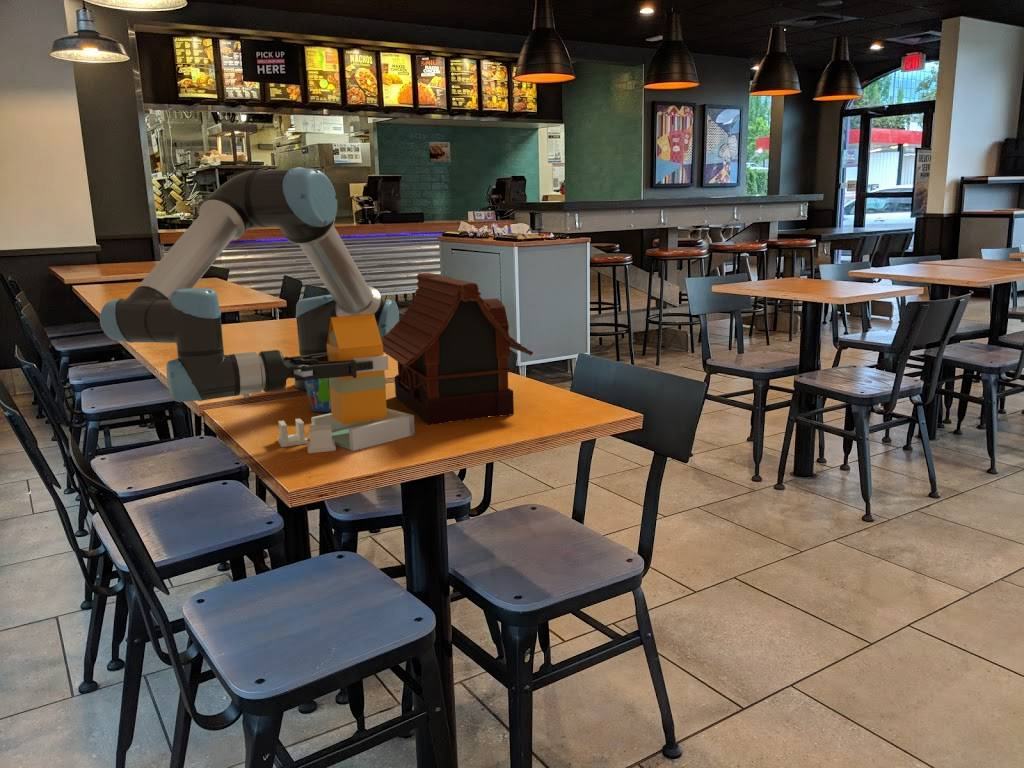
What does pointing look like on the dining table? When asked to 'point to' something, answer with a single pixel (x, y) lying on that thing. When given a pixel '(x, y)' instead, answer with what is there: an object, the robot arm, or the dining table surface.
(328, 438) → the white upright piece
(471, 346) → the house
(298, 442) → the clip
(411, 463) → the dining table surface
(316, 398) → the snack cup
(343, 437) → the tray
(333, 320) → the orange juice
